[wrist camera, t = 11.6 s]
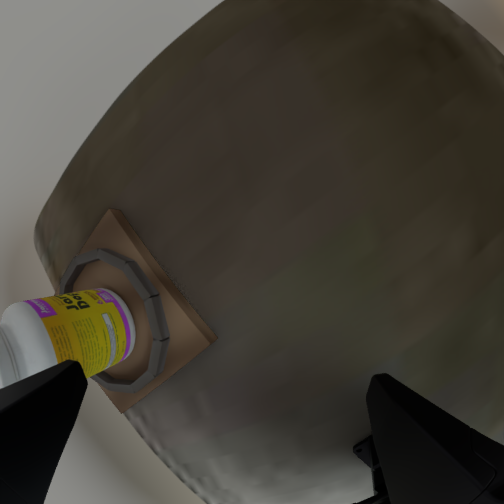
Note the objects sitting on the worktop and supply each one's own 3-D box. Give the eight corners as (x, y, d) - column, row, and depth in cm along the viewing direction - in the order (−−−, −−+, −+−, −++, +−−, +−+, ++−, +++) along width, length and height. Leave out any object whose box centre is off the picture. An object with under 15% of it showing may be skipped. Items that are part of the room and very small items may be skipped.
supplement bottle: (134, 287, 21) (-9, 316, 9) (144, 364, 21) (26, 431, 9) (82, 286, 23) (-37, 304, 11) (92, 353, 23) (-14, 395, 11)
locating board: (218, 338, 21) (204, 349, 19) (129, 407, 24) (114, 418, 21) (120, 210, 23) (99, 207, 21) (58, 302, 26) (41, 305, 24)
